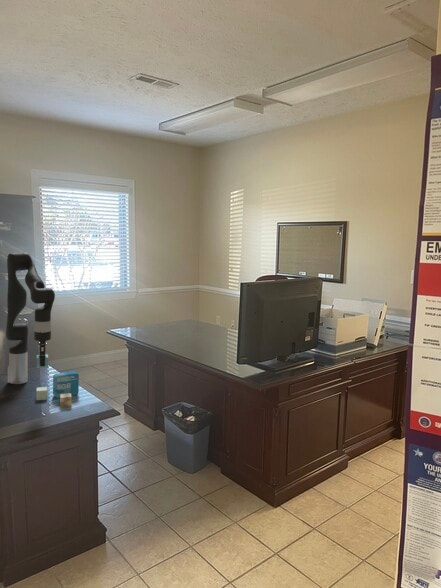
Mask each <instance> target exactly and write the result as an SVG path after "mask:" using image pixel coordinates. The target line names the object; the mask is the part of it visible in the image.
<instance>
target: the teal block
mask: <svg viewBox="0 0 441 588" xmlns="http://www.w3.org/2000/svg"><path fill="white" fill-rule="evenodd" d="M41 356H44V355H41ZM39 357H40V354H36V369H45V368H49V354H45V357H46V358H45V366H40V358H39Z"/></svg>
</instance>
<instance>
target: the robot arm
mask: <svg viewBox="0 0 441 588" xmlns="http://www.w3.org/2000/svg"><path fill="white" fill-rule="evenodd" d="M6 257H7V258H6V268H7V299H6V300H7V303H6V304H7V305H6V306H7V314H6V315H7V316H6V317H7V319H6V329H5V337H6V339H7V341H19V342H18V343H16V344H13V345H11V346H10V347H9V351H8V356H9V357H8V358H9V359H8V360H9V361H8V363H9V364H8V365H7V383H8V384H10V385H23V384H26V383H27V382H28V362H29V361H28V352H29V351H28V338H29V326H28V324H27V323H25V322H20V323H15V321H16V318H17V317H18V316H19V315H20V313H22V311H23V310H24V309H25V307H26V306H27V295H28V293H27V291H26V289H25V287H24V286H23V285H22V283H21V282H20V281H19V278H18V277H17V274H16V273H17V271H20V272H21V271H27V272H26V274H25V276H24V282H25V284H26V286H27V288H28V289H29V293H30V294H29V295H30V300H31V302H32V303H34V304H37V305H38V304H44V305H43V306H41V307H37V308H36V309H35V310H34V324H33V340H34V341H37V348H38V355H40V357H39V358H40V366H45V358H46V357H45V355H47V348H48V342H47V341H50V340H51V339H52V323H51V322H52V321H51V318H52V317H51V314H52V309H53V306H54V302H55V300H56V298H55V297H56V294H55V290H53V289H52V288H48V287H45V286H46V285H45V283H44V281H43V280H42V278H41V277H40V275H39V273H38V271H37V268H36V266H35V263H34V260H33V258H32V256H31V255H30V254H29V252H11V253H9V254H7V256H6ZM41 355H44V356H41Z"/></svg>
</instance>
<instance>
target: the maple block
mask: <svg viewBox="0 0 441 588" xmlns="http://www.w3.org/2000/svg"><path fill="white" fill-rule="evenodd" d="M59 402H60V403H59V404H60V405H59V406H60V408H68V407H72V396H71V393H68V394H60V398H59Z"/></svg>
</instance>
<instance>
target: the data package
mask: <svg viewBox="0 0 441 588" xmlns="http://www.w3.org/2000/svg"><path fill="white" fill-rule="evenodd" d="M79 378H80V375H79V373H77V372H76V371H75V370H73V371H64V372H58V373H54V374H53V376H52V394H53V396H54V397H55V399H56V398H57V399H60V394H68V393H71V397H73V396H77V395H78V394H79V392H80V391H79V388H80V384H79V383H80V379H79Z"/></svg>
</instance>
